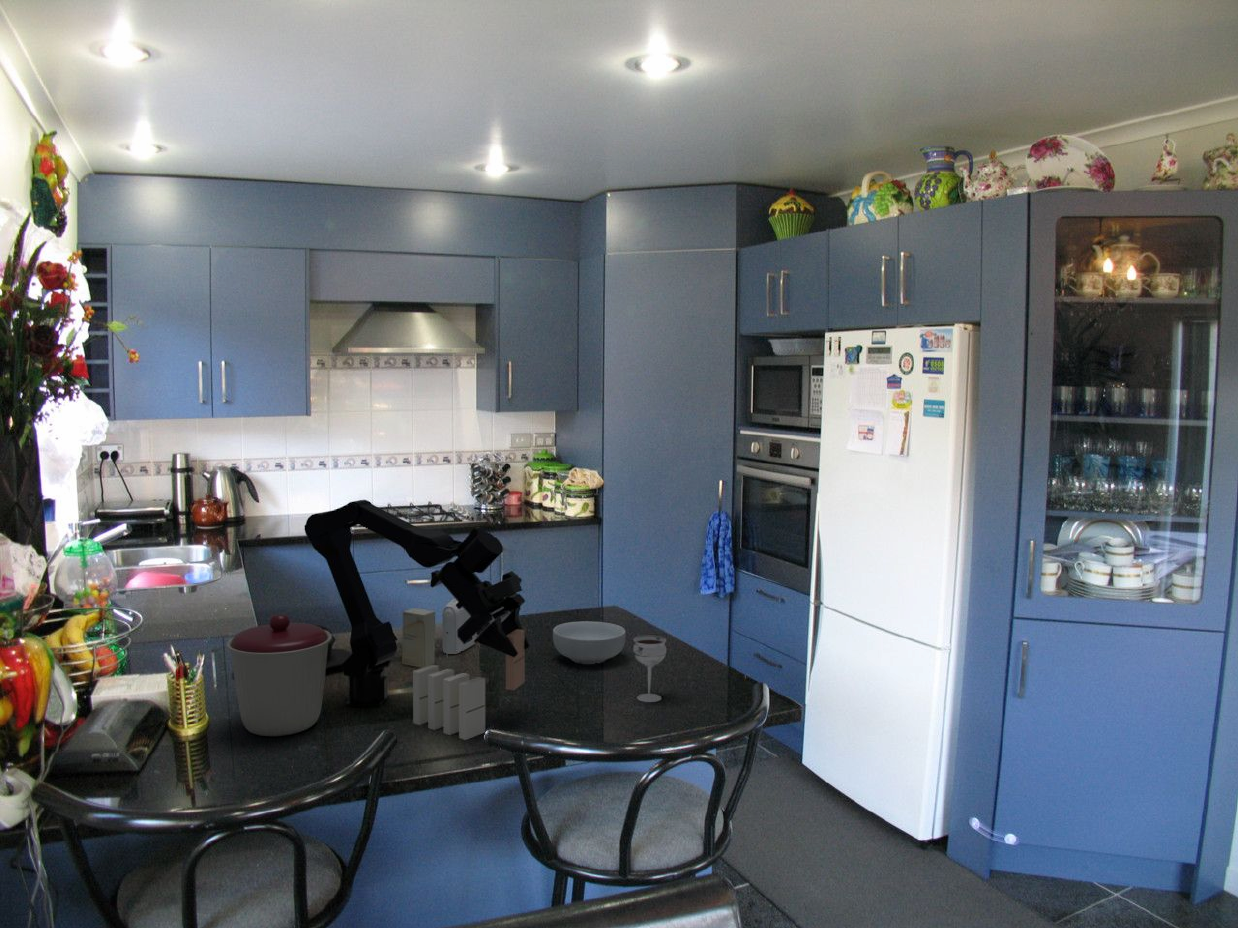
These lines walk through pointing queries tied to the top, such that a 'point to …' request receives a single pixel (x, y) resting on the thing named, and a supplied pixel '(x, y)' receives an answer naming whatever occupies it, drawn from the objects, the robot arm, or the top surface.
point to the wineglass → (649, 658)
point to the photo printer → (454, 628)
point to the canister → (279, 675)
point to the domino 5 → (516, 661)
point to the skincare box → (418, 637)
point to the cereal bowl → (589, 641)
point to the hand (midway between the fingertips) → (522, 651)
